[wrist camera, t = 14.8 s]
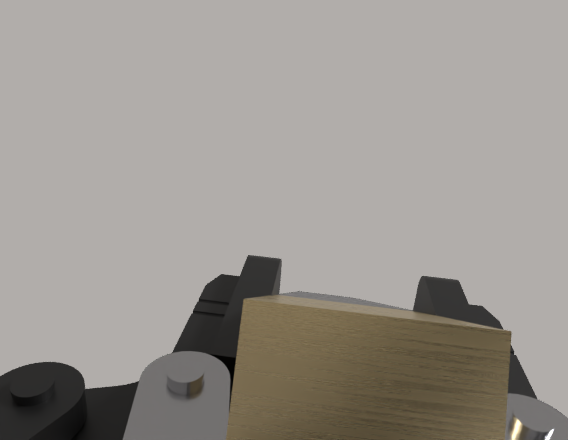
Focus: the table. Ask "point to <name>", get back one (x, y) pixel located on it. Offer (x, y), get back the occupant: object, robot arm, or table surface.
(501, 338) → the bar
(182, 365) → the robot arm
